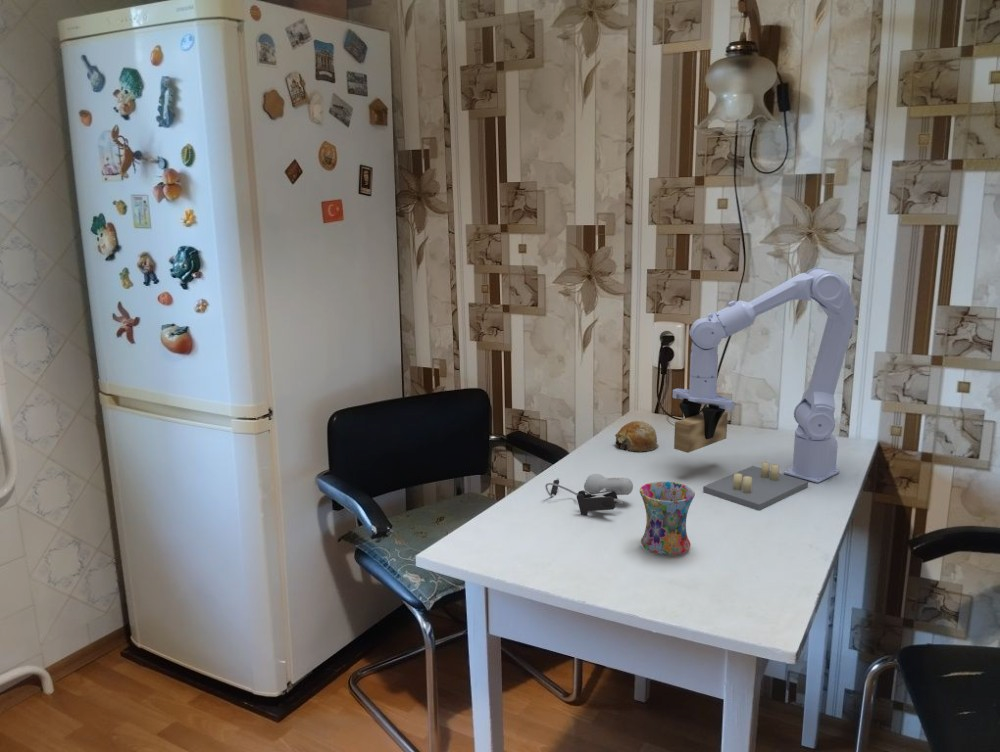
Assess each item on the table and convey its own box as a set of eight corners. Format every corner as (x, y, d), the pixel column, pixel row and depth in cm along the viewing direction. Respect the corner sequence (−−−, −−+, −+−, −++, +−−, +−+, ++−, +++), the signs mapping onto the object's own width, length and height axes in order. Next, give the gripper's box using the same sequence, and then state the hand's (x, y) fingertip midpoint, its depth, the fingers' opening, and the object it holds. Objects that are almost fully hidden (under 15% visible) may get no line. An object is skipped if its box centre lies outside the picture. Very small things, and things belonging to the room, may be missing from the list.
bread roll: (653, 467, 189) (668, 438, 187) (614, 450, 188) (629, 420, 186) (646, 453, 199) (660, 425, 197) (609, 437, 198) (623, 409, 196)
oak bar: (712, 434, 179) (713, 409, 178) (726, 438, 176) (727, 412, 175) (674, 448, 170) (675, 421, 169) (687, 452, 168) (689, 425, 166)
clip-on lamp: (536, 517, 161) (614, 518, 149) (528, 488, 159) (606, 487, 148) (566, 493, 170) (641, 493, 158) (559, 465, 168) (634, 463, 157)
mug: (688, 563, 133) (691, 504, 131) (633, 555, 136) (634, 497, 134) (697, 534, 144) (700, 479, 142) (646, 527, 147) (647, 473, 145)
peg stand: (752, 470, 175) (753, 452, 174) (807, 486, 165) (809, 467, 164) (703, 491, 164) (703, 472, 163) (758, 510, 154) (760, 490, 153)
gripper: (664, 372, 173) (662, 432, 176) (721, 384, 162) (718, 447, 165) (684, 367, 177) (682, 425, 180) (741, 378, 166) (738, 440, 169)
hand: (701, 435), depth 173 cm, fingers closed on oak bar, 4 cm apart
